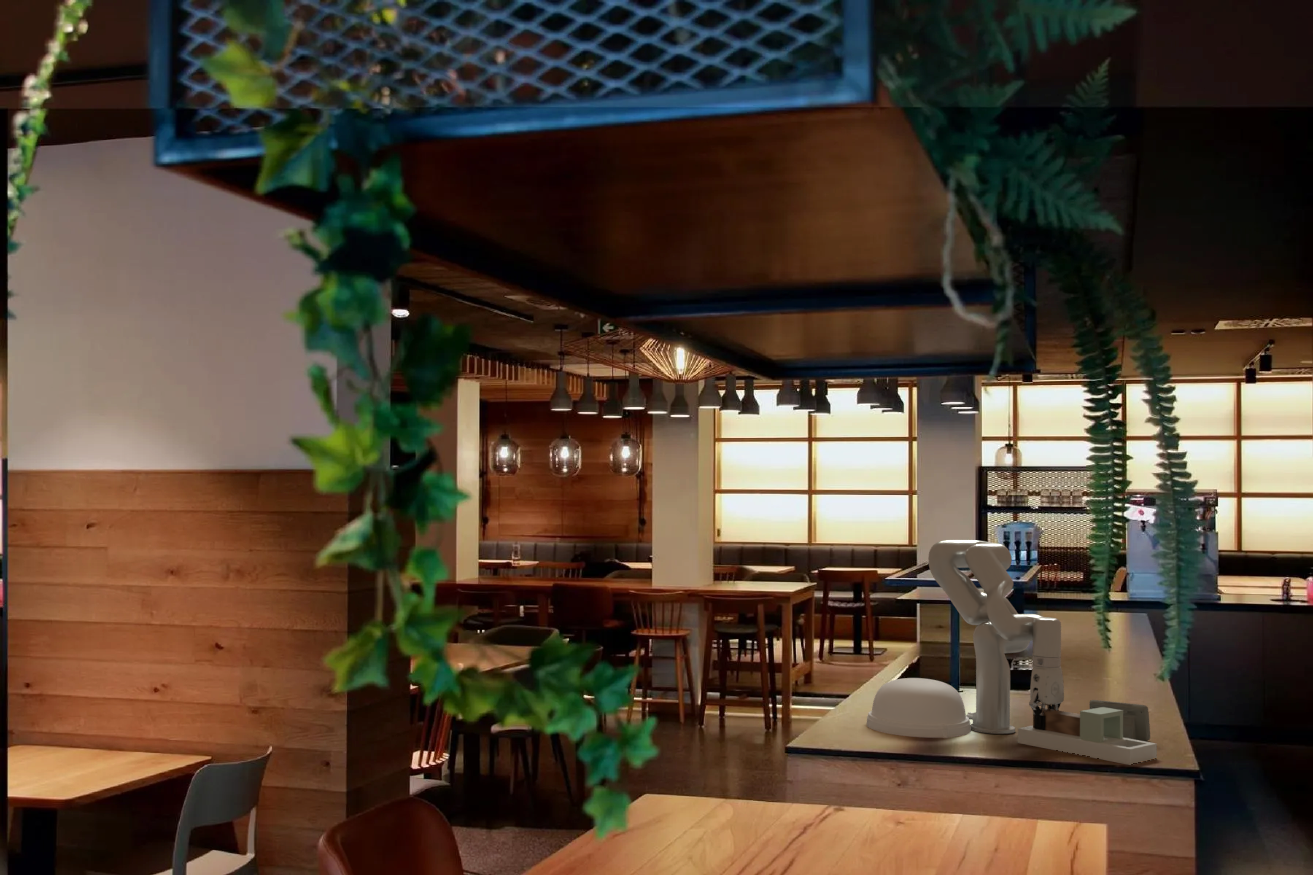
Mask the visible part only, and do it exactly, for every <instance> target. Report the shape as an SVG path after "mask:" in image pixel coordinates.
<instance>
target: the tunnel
mask: <svg viewBox="0 0 1313 875" xmlns="http://www.w3.org/2000/svg"><path fill="white" fill-rule="evenodd" d="M1079 714H1080V739H1082V740H1088V741H1093V742H1098V743H1102V742H1104V736H1107V737H1112V738H1118V739H1122V738H1123V710H1118V709H1111V708H1105V707H1100V708H1094V709H1090V708H1089V709H1082V710H1080V711H1079Z"/></svg>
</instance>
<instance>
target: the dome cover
mask: <svg viewBox="0 0 1313 875" xmlns="http://www.w3.org/2000/svg"><path fill="white" fill-rule="evenodd" d="M873 698H874V699H873V703H872V707H871V710H870V711H869V712H868V713H867V716H866V727H867V728H868V729H871V730H873V731H876V732H880V733H884V734H889V735H895V736H902V737H903V736H904V737H914V738H931V739H932V738H933V739H935V738H939V739H940V738H944V739H948V738H954V737H961V736H966V735H968V734H970V733H971V731H972V729H971V724H972V723H971V721H970V719H969V718H968V717H967V716H966V715H967V714H966V708H965V704H964V700H963V698H962V696H961V694H960V693H959V692H958V690H957V689H956V688H954V687H953V686H952V685H950V684H949V683H946V682H943V681H940V680H937V679H936V680H935V679H930V678H921V677H907V678H905V677H904V678H899V679H898V678H896V679H893V680H890V681H887V682H886V683H883V685H881V686H880V687H879V688H878V690H877V691H876V693H875V694H874V697H873Z"/></svg>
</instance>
